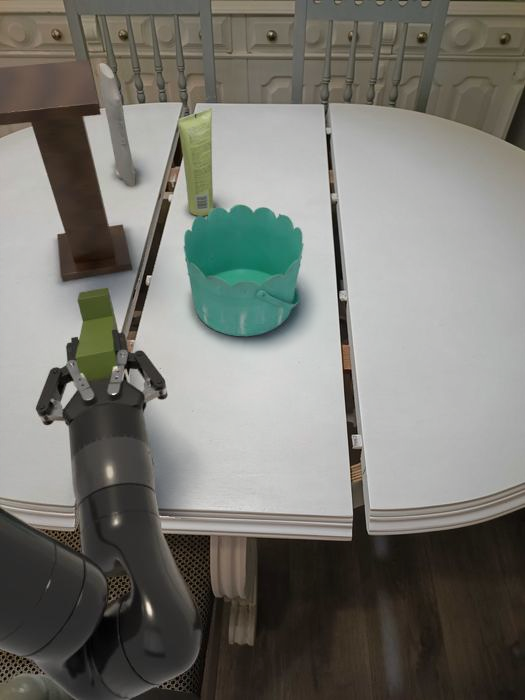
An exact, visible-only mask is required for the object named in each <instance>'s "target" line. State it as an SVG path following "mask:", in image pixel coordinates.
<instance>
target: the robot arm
mask: <svg viewBox="0 0 525 700" xmlns="http://www.w3.org/2000/svg"><path fill="white" fill-rule="evenodd" d="M112 336H113V340H114V346H115V352H116V355H117V356H116V359H117V366H114V367H113V369H112V374H111V376H107V377H104V378H102V379H92V380H87V379H86V377H85V375H84V373H79V370H78V366H77V362H76V358H75V357H76V352H77V347H78V343H79V337H78V336H73V337H71V338H70V341H71V342H67V343H66V345H65V350H66V351H65V352H66V364H65V365H63V366H62V367H57V366H56V367H52V368H51V369H50V370H49V372H48V375H47V378H46V380H45V383H44V385H43V388H42V390H41V392H40V395H39V398H38V401H37V403H36V406H35V411H36V414H37V415H38V417H39V420H41V422H42V424H43V425H44V426H50V425H52V424H53V423H54V422H64V423H65V425H66V426H67V427H68V437H69V450H70V451H69V453H70V466H71V467H70V468H71V477H72V478H71V479H72V480H71V481H72V489H73V494H74V498H75V503H76V507H77V508H76V509H77V518H78V531H79V543H80V551H79V550H76V548H73V547H71V546H70V545H68V544H66V543H64V542H63V541H61V540H59V539H57V538H56V537H54V536H52V535H50V534H48V533H46V532H44V531H42V530H41V529H39V528H38V527H35V526H34V525H32V524H30V523H28V522H26V521H25V520H24V519H22V518H20V517H19V516H18V515H15V514H14V513H12V512H11V511H9V510H8V509H7V508H5V507H3V506H2V505H0V650H2V651H5V652H6V653H10V654H12V655H15V656H18V657H21V658H24V659H28V660H31V661H32V662H33V664H35V665H36V666H37V668H39V669H40V670H41V671H42V673H44V674H45V676H47V677H48V678H49V679H50V680H52V681H53V682H54V683H55V684H56V685H57V686H58V687H60V688H61V689H62V690H63V691H64V692H65V693H67V694H68V695H69V696H70V697H71V698H73V699H74V700H131V699H133V698H136V697H137V696H140V695H141V694H144V693H146V692H148V691H150V690H151V689H154V688H156V687H157V686H159V685H161V684H164V683H166V682H169V681H170V680H173V679H175V678H176V677H178V676H180V675H182V674H184V673H185V672H187V671H188V670H189V669H190V668H191V667H192V666H193V665H194V664H195V662H196V660H197V658H198V656H199V653H200V650H201V646H202V641H203V619H202V614H201V611H200V608H199V605H198V603H197V601H196V598H195V596H194V595H193V593H192V591H191V588H190V587H189V585H188V583H187V582H186V580H185V578H184V576H183V573H182V572H181V570H180V568H179V566H178V564H177V562H176V559H175V557H174V555H173V553H172V551H171V549H170V546H169V544H168V542H167V539H166V537H165V535H164V532H163V528H162V522H161V517H160V511H159V507H158V500H157V496H156V495H157V494H156V478H155V477H156V475H155V469H154V468H155V467H154V459H153V457H152V453H151V447H150V441H149V436H148V432H147V431H148V430H147V425H146V421H145V410H146V408H147V403H148V402H151V401H153V400H154V399H156V398H157V400H160V401H162V400H166V399H167V398H168V397H169V396H168V388H167V384H166V379H165V378H164V377H163V375H162V374H161V372H160V371H159V370H158V369H157V368H156V366H155V365H154V363H153V362H152V361H151V359H150V358H149V357H148V355H147V354H146V352H145V351H144V350H136V351H135V352H131V351H129V347H128V342H127V339H126V335H125V333H124V332H123V331H121V332H120V331H119V329H118V328H117V329H115V330H112ZM132 370H137V372H138V373H139V374H140V376H141V377H142V379H143V380H144V382H143V387H144V389H143V390H140V389H139V388H137V387H136V386H134V385H133V384H131V381H130V380H131V379H130V378H131V373H132V372H131V371H132ZM71 382H72V383H73V385H74V387H75V389H76V391H75V393H74V394H73V395H72V397H71V398H70V399H69V401H68V402H67V403H66V405H65V406H64V407H63V405H62V399H63V396H64V394H65V391H66V387H67V385H68V384H69V383H71ZM124 576H125V577H126V576H128V578H129V579H128V580H129V584H130V591H128V592H127V593H125V594H122V595H121V596H119V597H117V598H115V599H113V600H112V601H109V597H110V588H109V581H108V578H118V577H124Z"/></svg>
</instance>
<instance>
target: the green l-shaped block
mask: <svg viewBox="0 0 525 700" xmlns="http://www.w3.org/2000/svg"><path fill="white" fill-rule="evenodd" d="M77 303H78V308H79V311H80V316H81V320H82V323H81V328H80V333H79V337H78V339H79V343H78V347H77V352H76V357H75V358H76V362H77V366H78V370H79V373H84V375H85V377H86V379H87V380H92V379H102V378H104V377H107V376H111V374H112V369H113V367H114V366H117V359H116V356H117V355H116V352H115V346H114V340H113V336H112V330H115V329H118V323H117V319H116V314H115V310H114V306H113V302H112V298H111V293H110V289H109V287H108V286H107V287H103V288H102V287H101V288H96V289H91V290H90V289H89V290H85V291H80V292H79V293H78V297H77Z"/></svg>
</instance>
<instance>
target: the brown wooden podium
mask: <svg viewBox="0 0 525 700" xmlns="http://www.w3.org/2000/svg"><path fill="white" fill-rule="evenodd" d="M100 115H102V113H101V109H100V103H99V98H98V95H97V91H96V85H95V81H94V76H93V72H92V68H91V63H90V60H89V59H83V60H69V61H62V62H61V61H60V62H58V61H57V62H49V63H38V64H37V63H35V64H25V65H14V66H13V65H12V66H3V67H0V126H8V125H9V126H11V125H19V124H27V123H30V124H31V127H32V130H33V133H34V136H35V137H34V138H35V140H36V143H37V146H38V151H39V153H40V156H41V160H42V162H43V166H44V169H45V172H46V175H47V179H48V182H49V185H50V189H51V192H52V195H53V198H54V202H55V205H56V208H57V211H58V215H59V218H60V221H61V225H62V228H63V231H64V232H62V233H57V235H56V236H57V247H58V249H57V250H58V260H59V272H60V273H59V274H60V278H61V281H62V282H63V283H64V282H69V281H75V280H81V279H82V280H83V279H87V278H92V277H98V276H104V275H110V274H116V273H121V272H128V271H133V265H132V261H131V256H130V251H129V247H128V242H127V238H126V233H125V229H124V225H123V223H122V224H116V225H109V220H108V216H107V212H106V207H105V203H104V198H103V195H102V190H101V186H100V182H99V177H98V172H97V168H96V164H95V160H94V156H93V152H92V151H93V150H92V146H91V142H90V138H89V133H88V130H87V125H86V120H85V117H91V116H100Z"/></svg>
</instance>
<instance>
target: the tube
mask: <svg viewBox="0 0 525 700" xmlns="http://www.w3.org/2000/svg"><path fill="white" fill-rule="evenodd" d="M212 123H213V109H212V107H209V108H207V109H204V110H201V111H198V112H196V113H193V114H190V115H186V116H183V117H181V118H178V119H177V127H178V132H179V139H180V144H181V145H180V146H181V152H182V160H183V168H184V175H185V187H186V192H187V193H186V194H187V204H188V205H187V206H188V211H189V213H190V214H192V215H195V216H196V217H198V216H202V217H204V216H208V214H209V212H210V211H211V210H213V209H214V188H213V184H214V183H213V140H212V139H213V138H212V137H213V125H212Z"/></svg>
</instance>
